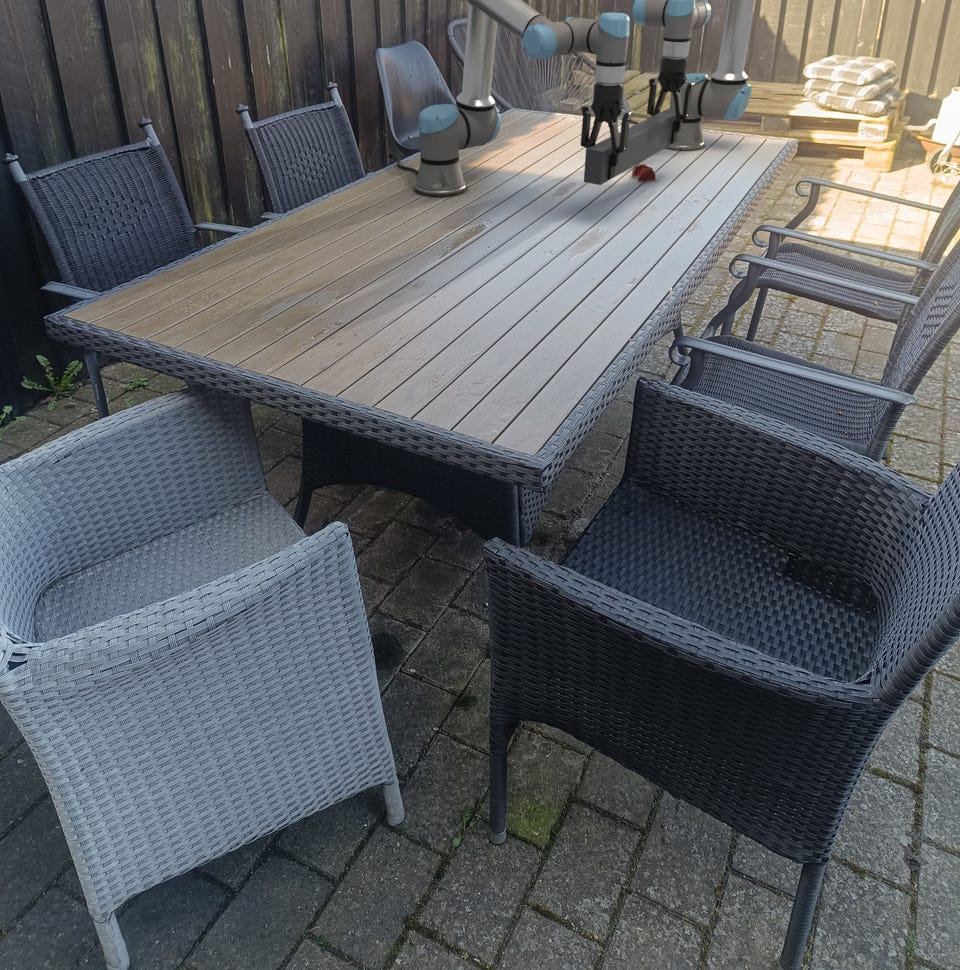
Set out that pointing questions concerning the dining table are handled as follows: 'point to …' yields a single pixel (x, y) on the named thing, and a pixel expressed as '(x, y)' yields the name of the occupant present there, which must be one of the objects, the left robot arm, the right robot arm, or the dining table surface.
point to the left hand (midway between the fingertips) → (601, 176)
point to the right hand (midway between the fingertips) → (664, 141)
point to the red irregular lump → (643, 172)
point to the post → (630, 147)
